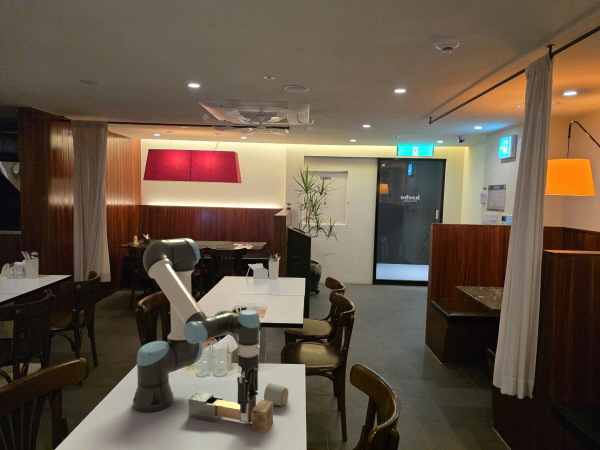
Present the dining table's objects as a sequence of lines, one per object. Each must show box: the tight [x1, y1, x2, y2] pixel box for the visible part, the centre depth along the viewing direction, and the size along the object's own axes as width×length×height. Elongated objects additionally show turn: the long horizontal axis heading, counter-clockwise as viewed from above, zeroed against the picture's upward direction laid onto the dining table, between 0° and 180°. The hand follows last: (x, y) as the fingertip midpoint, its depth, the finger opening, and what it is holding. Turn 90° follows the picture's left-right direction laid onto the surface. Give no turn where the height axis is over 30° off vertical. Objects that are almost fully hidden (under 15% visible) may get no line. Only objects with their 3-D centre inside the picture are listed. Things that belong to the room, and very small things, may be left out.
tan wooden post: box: [213, 392, 257, 424], centre depth 152 cm, size 20×5×8 cm, turn 73°
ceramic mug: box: [263, 382, 289, 407], centre depth 168 cm, size 11×8×8 cm
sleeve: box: [188, 391, 224, 423], centre depth 156 cm, size 11×6×7 cm, turn 73°
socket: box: [251, 399, 274, 434], centre depth 150 cm, size 5×8×8 cm, turn 163°
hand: (247, 416), depth 151 cm, fingers closed on tan wooden post, 5 cm apart
